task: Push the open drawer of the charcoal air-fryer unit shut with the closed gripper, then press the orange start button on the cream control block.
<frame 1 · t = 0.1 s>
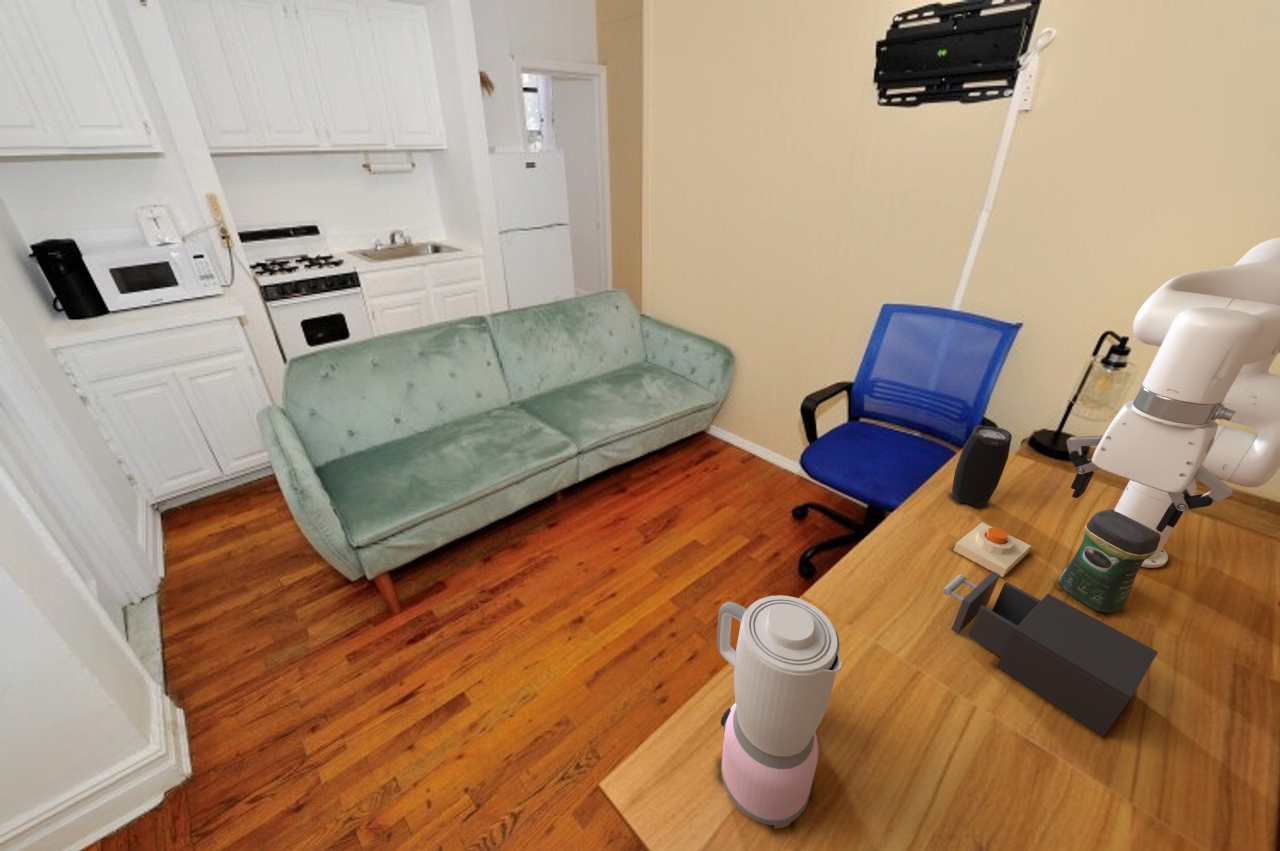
hand: (1117, 510, 74), 31 cm above the table, tool pointing down, fingers open, 9 cm apart
coffee jar: (1087, 596, 99), on the table
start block: (990, 551, 111), on the table
blender: (754, 771, 72), on the table
fryer: (1062, 678, 84), on the table
start button: (996, 536, 109), point 4 cm above the table, slide at 0.1 cm
portable speaker: (968, 500, 127), on the table
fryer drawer: (1000, 616, 89), point 5 cm above the table, slide at 7.0 cm
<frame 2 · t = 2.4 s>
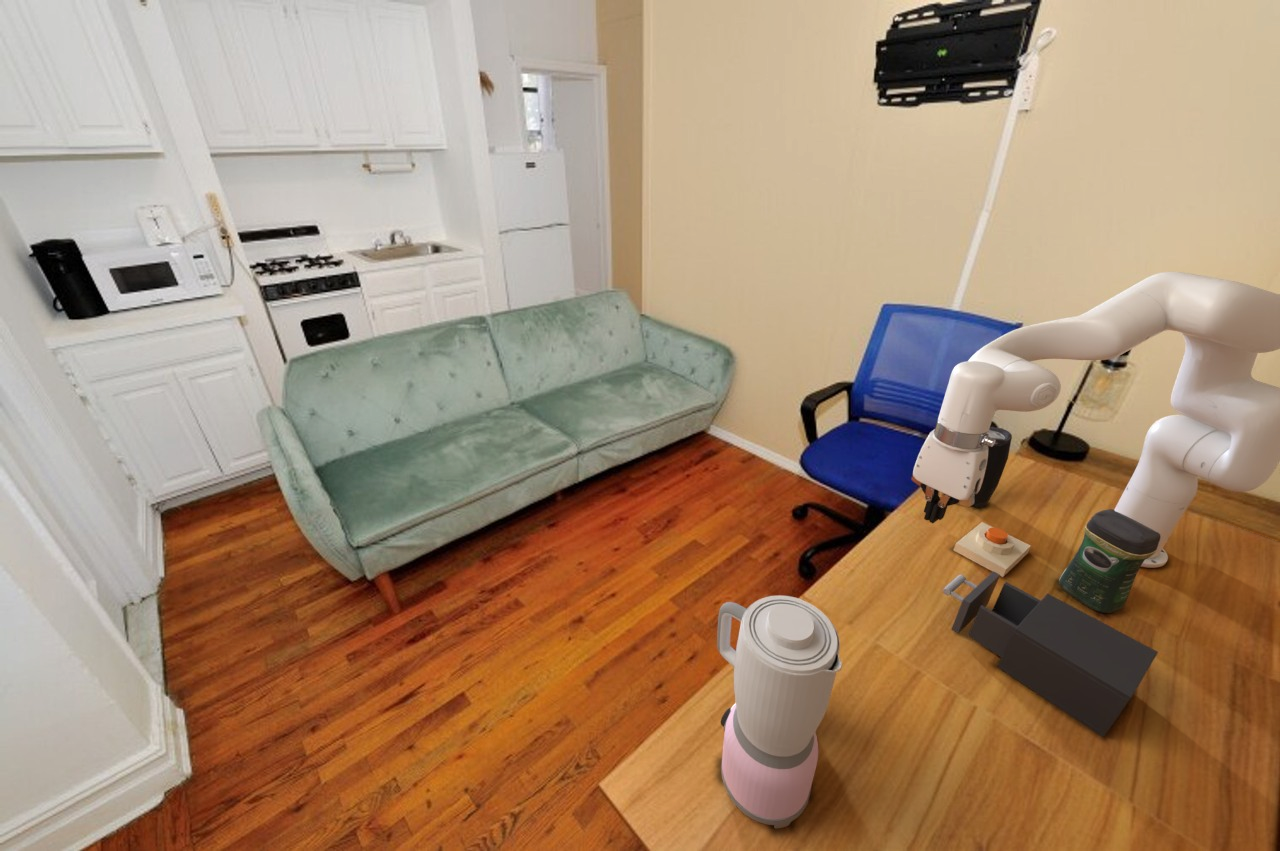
hand: (932, 518, 95), 17 cm above the table, tool pointing down, fingers closed
nothing on the table moved.
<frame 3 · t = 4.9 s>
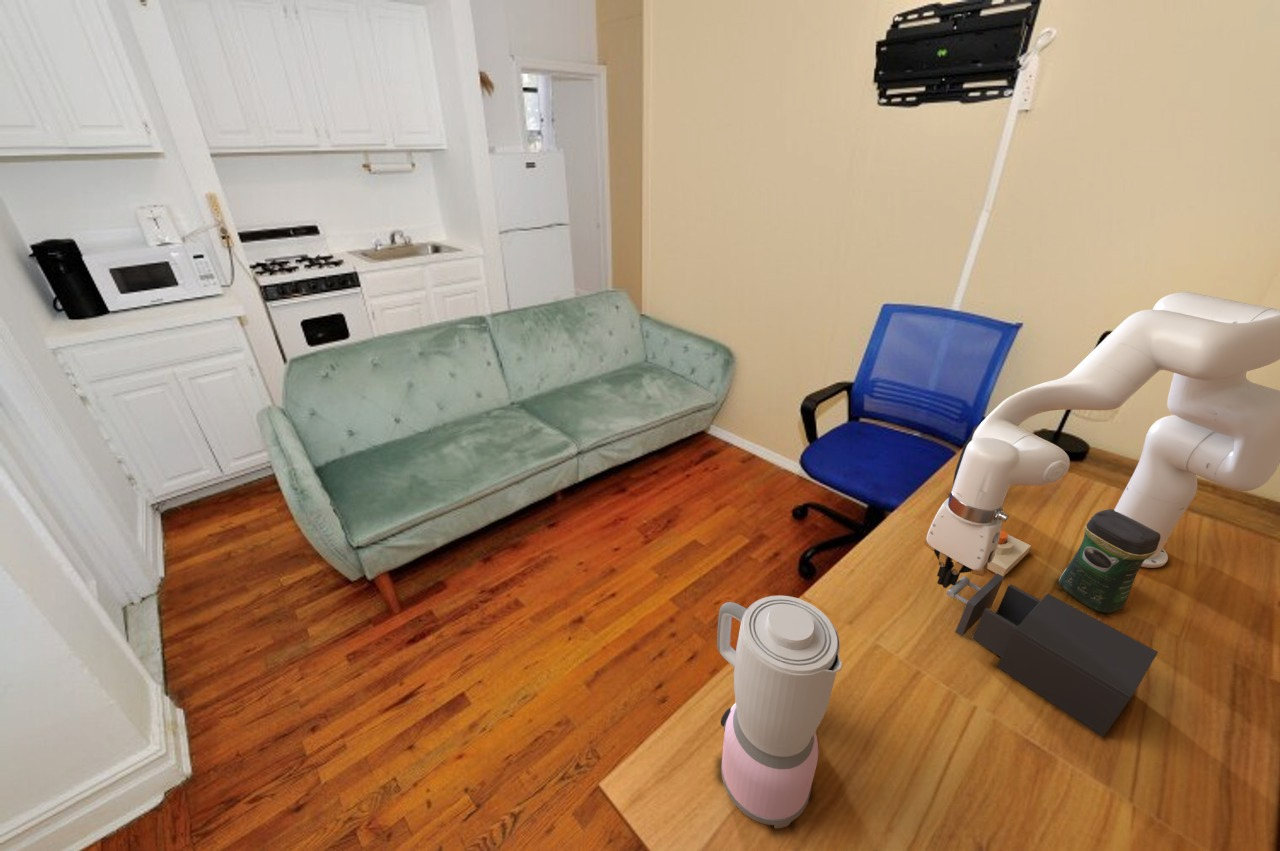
hand: (945, 582, 96), 5 cm above the table, tool pointing down, fingers closed
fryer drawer: (1004, 618, 89), point 5 cm above the table, slide at 6.3 cm, touching gripper
everything else where it was.
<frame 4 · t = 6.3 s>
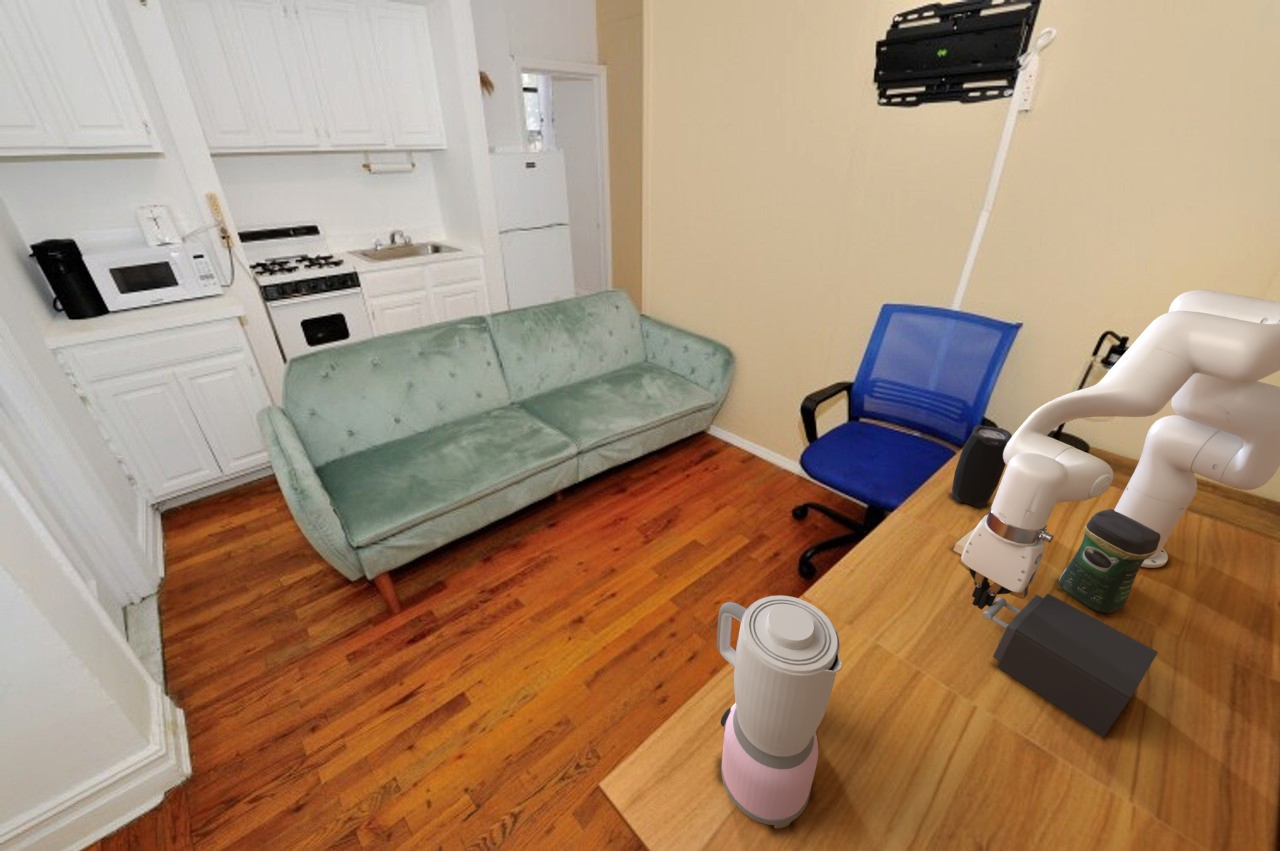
hand: (980, 603, 92), 5 cm above the table, tool pointing down, fingers closed
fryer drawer: (1045, 643, 84), point 5 cm above the table, slide at 0.0 cm, touching fryer, gripper
everything else where it was.
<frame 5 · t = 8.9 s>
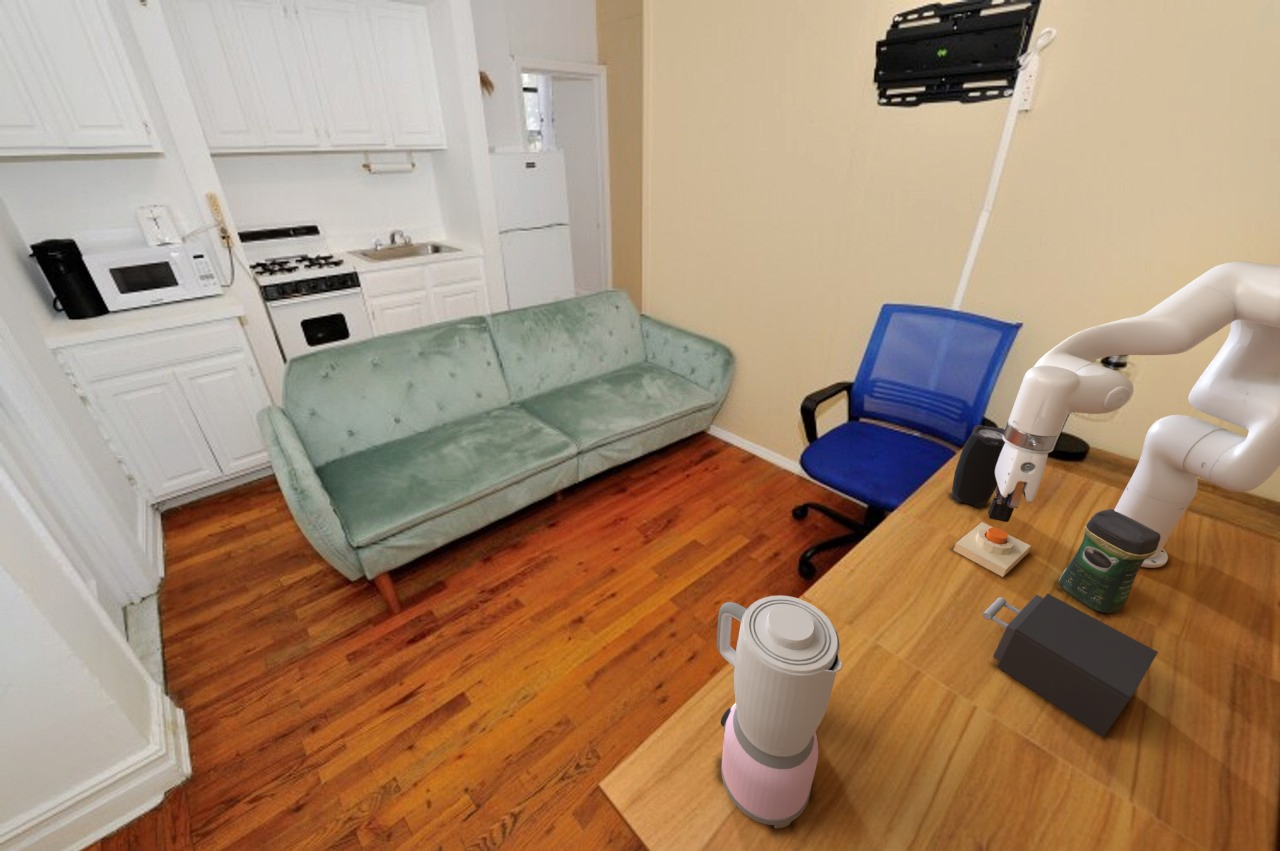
hand: (997, 517, 97), 15 cm above the table, tool pointing down, fingers closed
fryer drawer: (1045, 643, 84), point 5 cm above the table, slide at 0.0 cm, touching fryer
everything else where it was.
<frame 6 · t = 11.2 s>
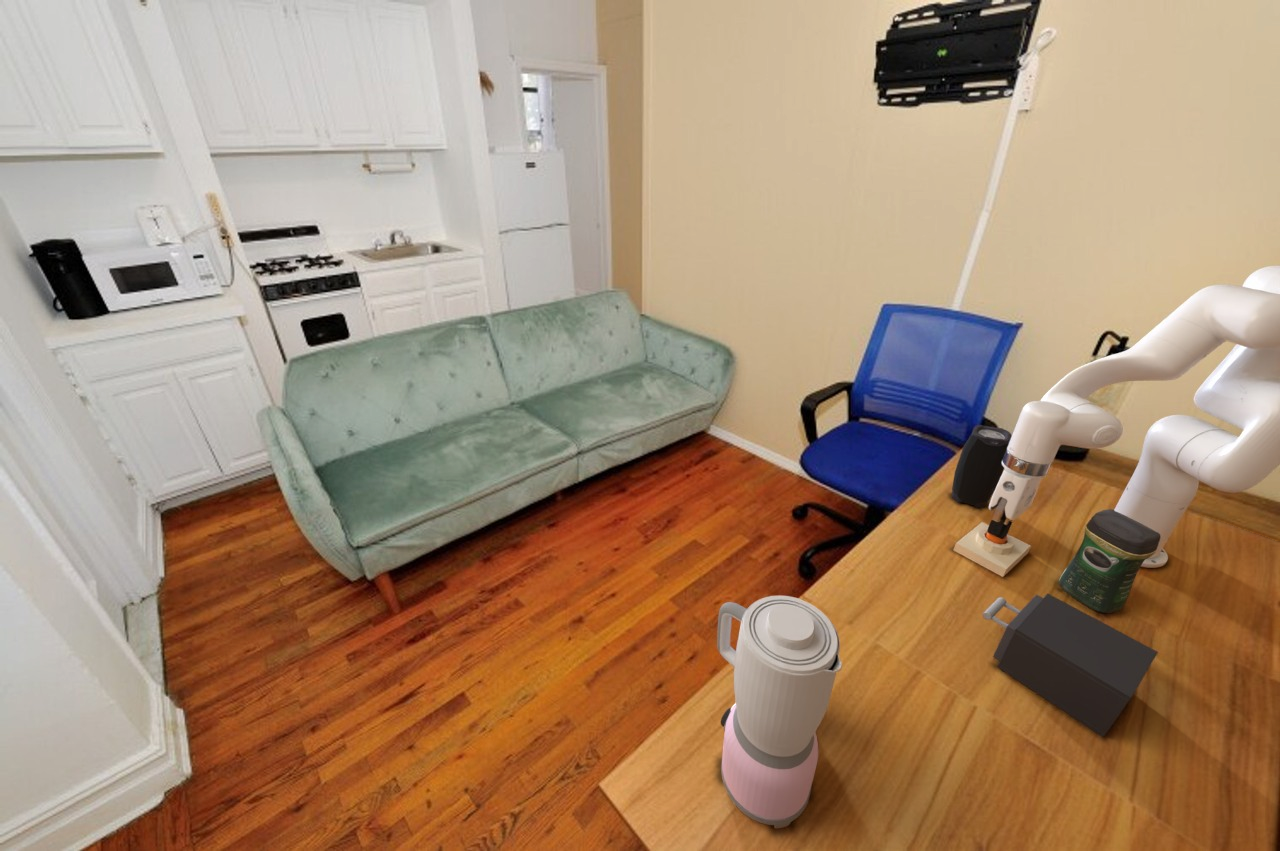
hand: (996, 534, 108), 5 cm above the table, tool pointing down, fingers closed
start button: (996, 537, 109), point 4 cm above the table, slide at -0.3 cm, touching gripper
everything else where it was.
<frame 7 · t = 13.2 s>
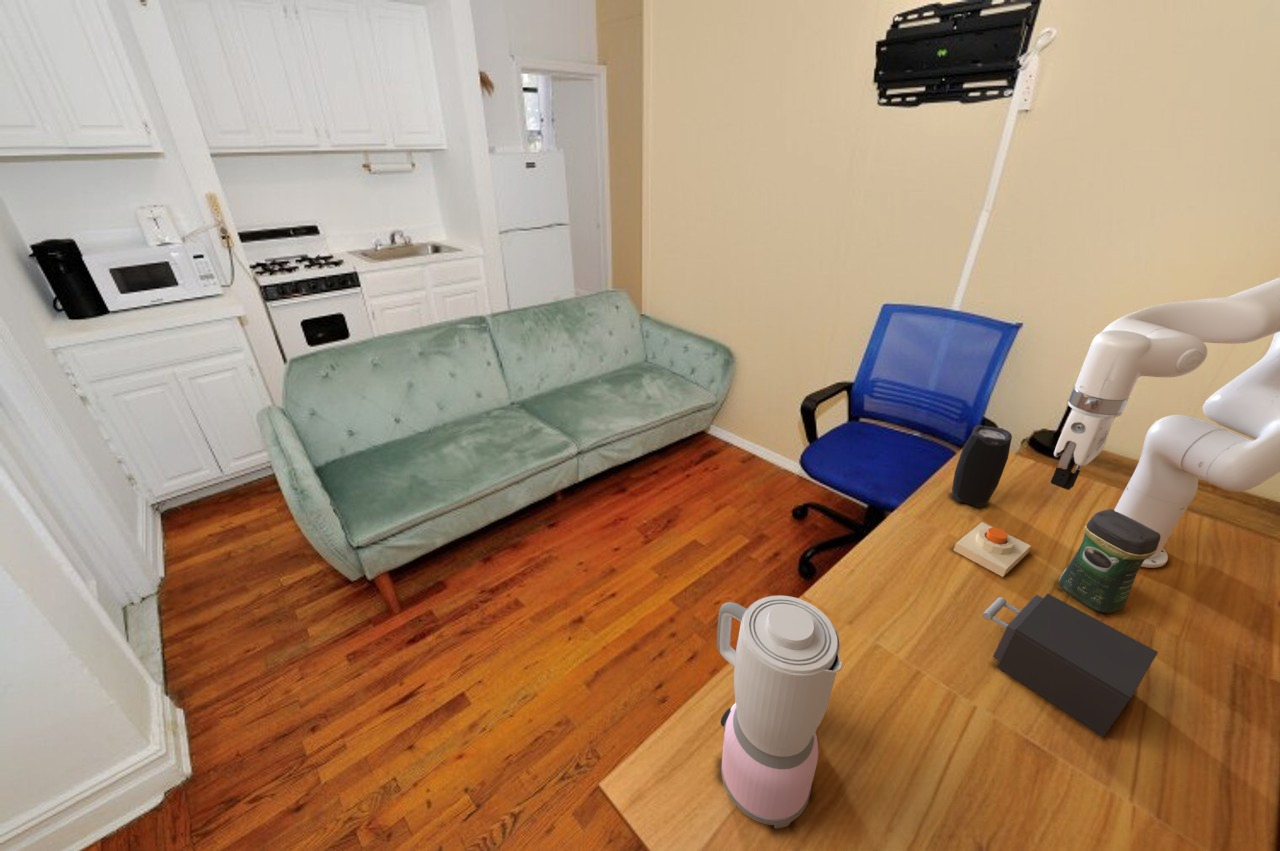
hand: (1061, 485, 98), 20 cm above the table, tool pointing down, fingers closed
start button: (996, 536, 108), point 4 cm above the table, slide at 0.1 cm
everything else where it was.
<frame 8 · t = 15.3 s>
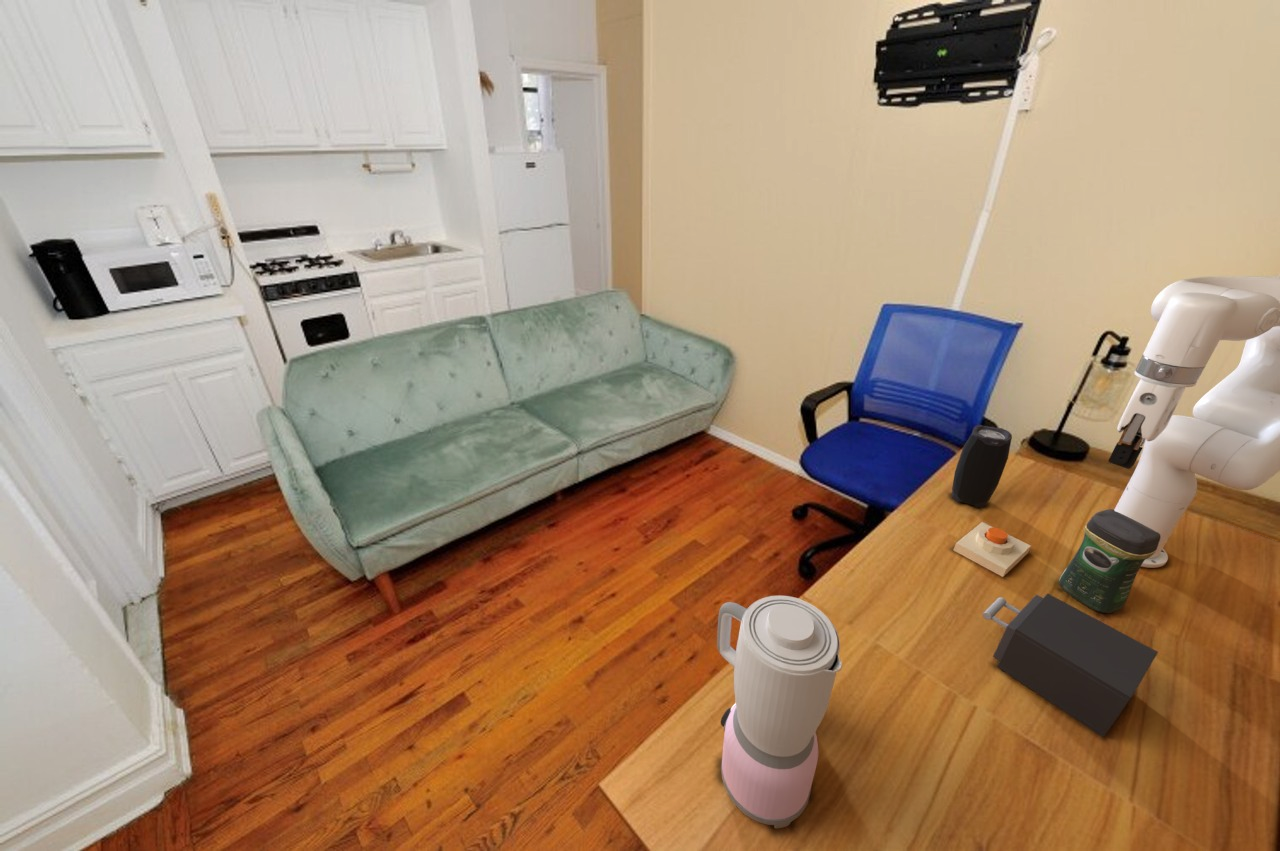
hand: (1120, 464, 92), 27 cm above the table, tool pointing down, fingers closed
nothing on the table moved.
at the end: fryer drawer slide at 0.0 cm; start button pushed in 1.1 cm at the most during the clip, back to where it started at the end; start button slide at 0.1 cm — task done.
